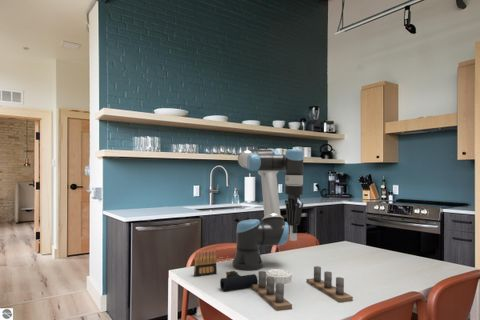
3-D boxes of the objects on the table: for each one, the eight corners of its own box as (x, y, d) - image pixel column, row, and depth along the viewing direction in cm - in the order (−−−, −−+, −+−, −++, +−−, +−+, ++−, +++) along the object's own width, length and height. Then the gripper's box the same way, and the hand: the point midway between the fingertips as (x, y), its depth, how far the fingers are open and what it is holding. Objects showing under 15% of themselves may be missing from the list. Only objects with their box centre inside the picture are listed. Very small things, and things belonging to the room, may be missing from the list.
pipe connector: (214, 271, 149) (245, 268, 155) (214, 284, 149) (245, 279, 155) (225, 280, 138) (257, 275, 145) (224, 293, 138) (257, 288, 145)
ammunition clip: (195, 277, 157) (195, 250, 158) (193, 275, 159) (194, 249, 159) (216, 274, 162) (217, 248, 162) (215, 273, 164) (215, 247, 164)
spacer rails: (251, 288, 144) (251, 270, 144) (318, 281, 154) (318, 264, 154) (276, 310, 121) (277, 289, 121) (352, 300, 132) (352, 280, 132)
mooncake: (275, 274, 165) (275, 266, 165) (297, 279, 156) (297, 271, 157) (259, 279, 156) (259, 271, 156) (281, 286, 148) (281, 277, 148)
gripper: (279, 184, 153) (278, 237, 153) (293, 186, 141) (292, 244, 140) (294, 184, 156) (294, 237, 155) (309, 186, 143) (308, 243, 143)
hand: (293, 240), depth 148 cm, fingers closed
